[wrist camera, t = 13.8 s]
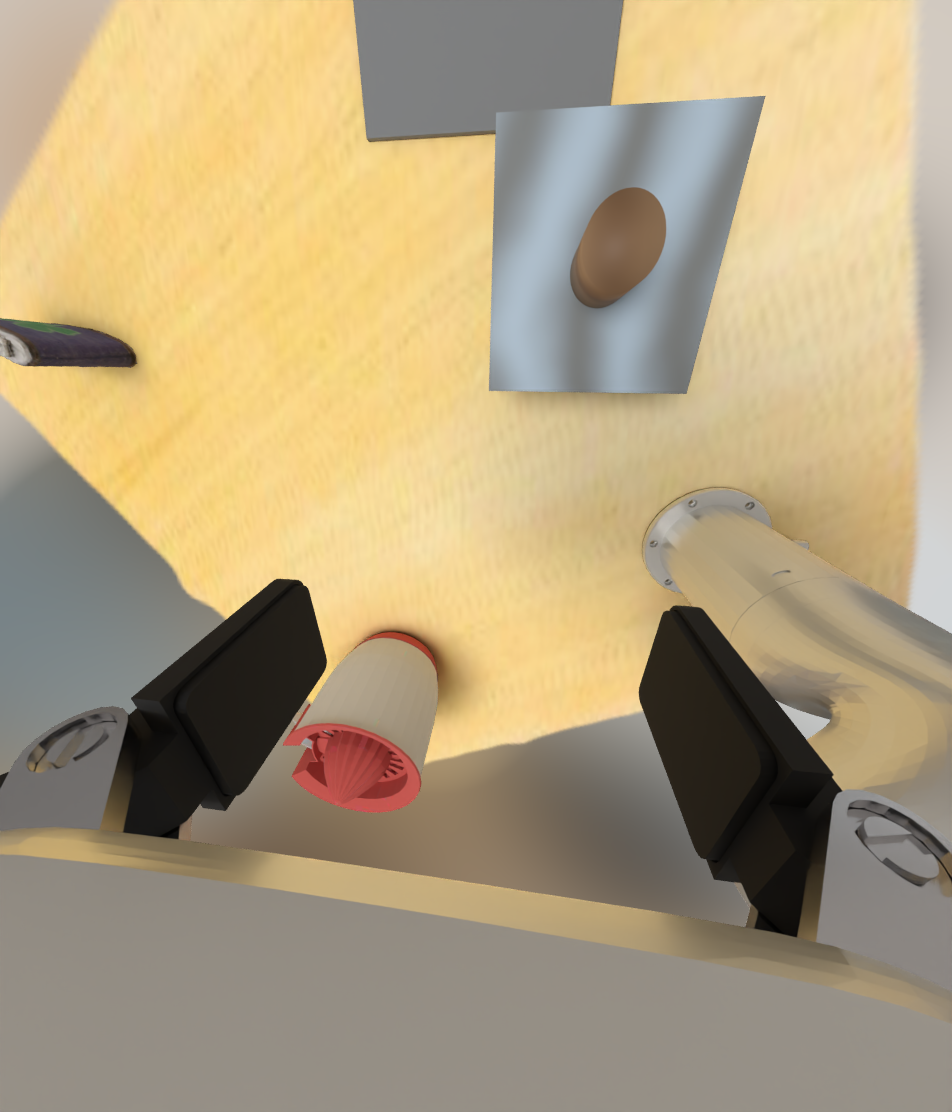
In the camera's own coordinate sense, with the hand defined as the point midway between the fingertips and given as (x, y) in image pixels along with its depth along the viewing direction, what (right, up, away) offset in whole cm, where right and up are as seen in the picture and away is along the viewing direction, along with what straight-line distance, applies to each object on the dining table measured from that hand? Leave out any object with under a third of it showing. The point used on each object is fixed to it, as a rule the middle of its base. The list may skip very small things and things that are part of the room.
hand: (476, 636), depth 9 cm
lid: (+8, +21, +14) cm, 26 cm away
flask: (-40, +24, +27) cm, 54 cm away
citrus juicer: (-13, -13, +43) cm, 47 cm away
